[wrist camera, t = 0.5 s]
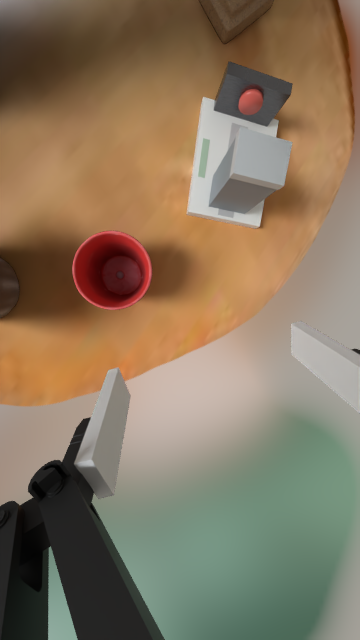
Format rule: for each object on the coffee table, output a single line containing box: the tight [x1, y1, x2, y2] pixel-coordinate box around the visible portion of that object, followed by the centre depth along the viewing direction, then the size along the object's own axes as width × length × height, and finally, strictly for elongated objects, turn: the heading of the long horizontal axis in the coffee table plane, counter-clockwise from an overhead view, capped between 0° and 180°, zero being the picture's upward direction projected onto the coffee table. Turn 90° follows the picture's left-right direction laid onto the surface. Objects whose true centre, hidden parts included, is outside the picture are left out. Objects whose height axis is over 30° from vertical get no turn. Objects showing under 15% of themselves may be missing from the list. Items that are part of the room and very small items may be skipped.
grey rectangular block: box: [209, 127, 292, 214], centre depth 31 cm, size 5×7×11 cm
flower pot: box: [72, 231, 152, 310], centre depth 33 cm, size 11×11×10 cm
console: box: [187, 62, 292, 229], centre depth 34 cm, size 18×14×8 cm
